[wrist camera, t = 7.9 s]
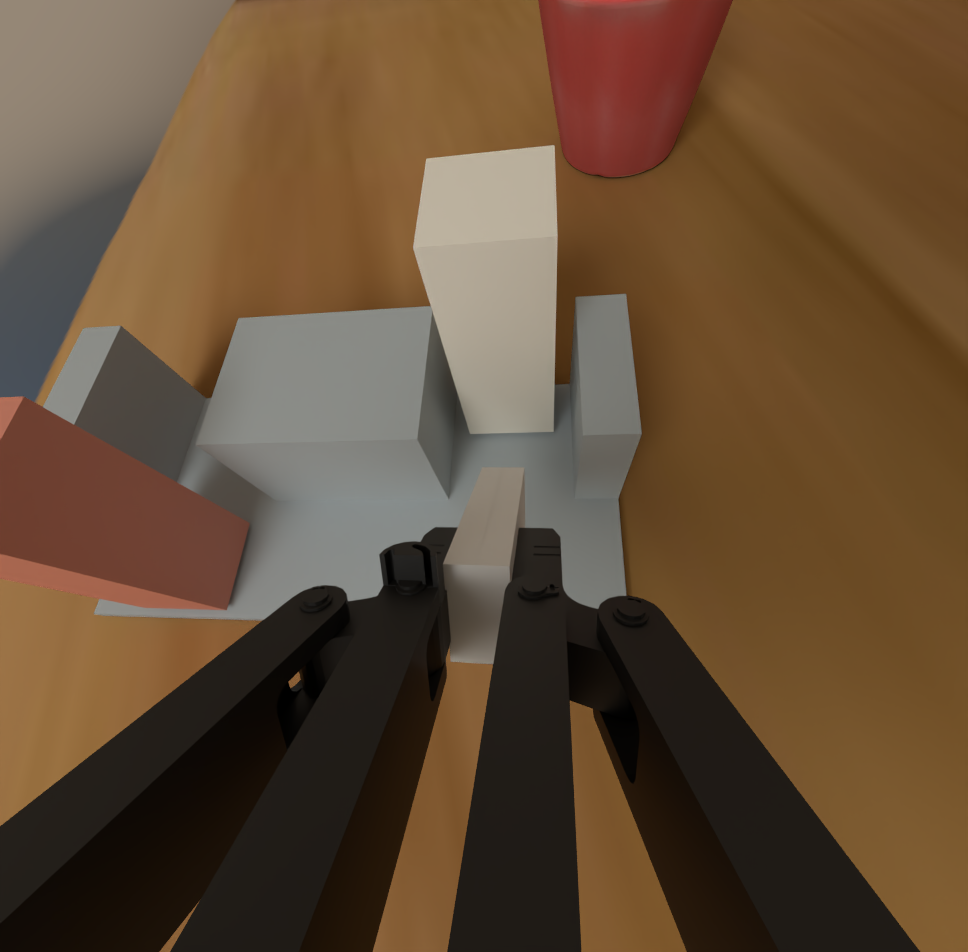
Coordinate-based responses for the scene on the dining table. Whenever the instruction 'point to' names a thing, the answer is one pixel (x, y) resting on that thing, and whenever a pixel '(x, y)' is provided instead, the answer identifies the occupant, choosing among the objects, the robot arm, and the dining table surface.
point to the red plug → (106, 520)
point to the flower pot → (626, 76)
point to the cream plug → (494, 282)
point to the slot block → (361, 445)
